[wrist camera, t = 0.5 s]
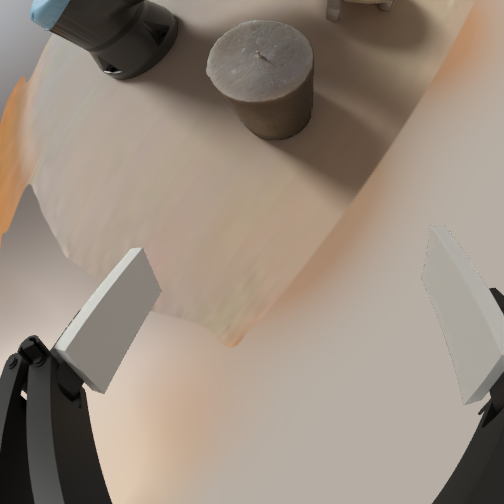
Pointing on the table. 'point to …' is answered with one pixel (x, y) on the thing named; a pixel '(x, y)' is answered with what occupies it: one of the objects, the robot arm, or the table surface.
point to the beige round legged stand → (334, 3)
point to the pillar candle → (265, 76)
